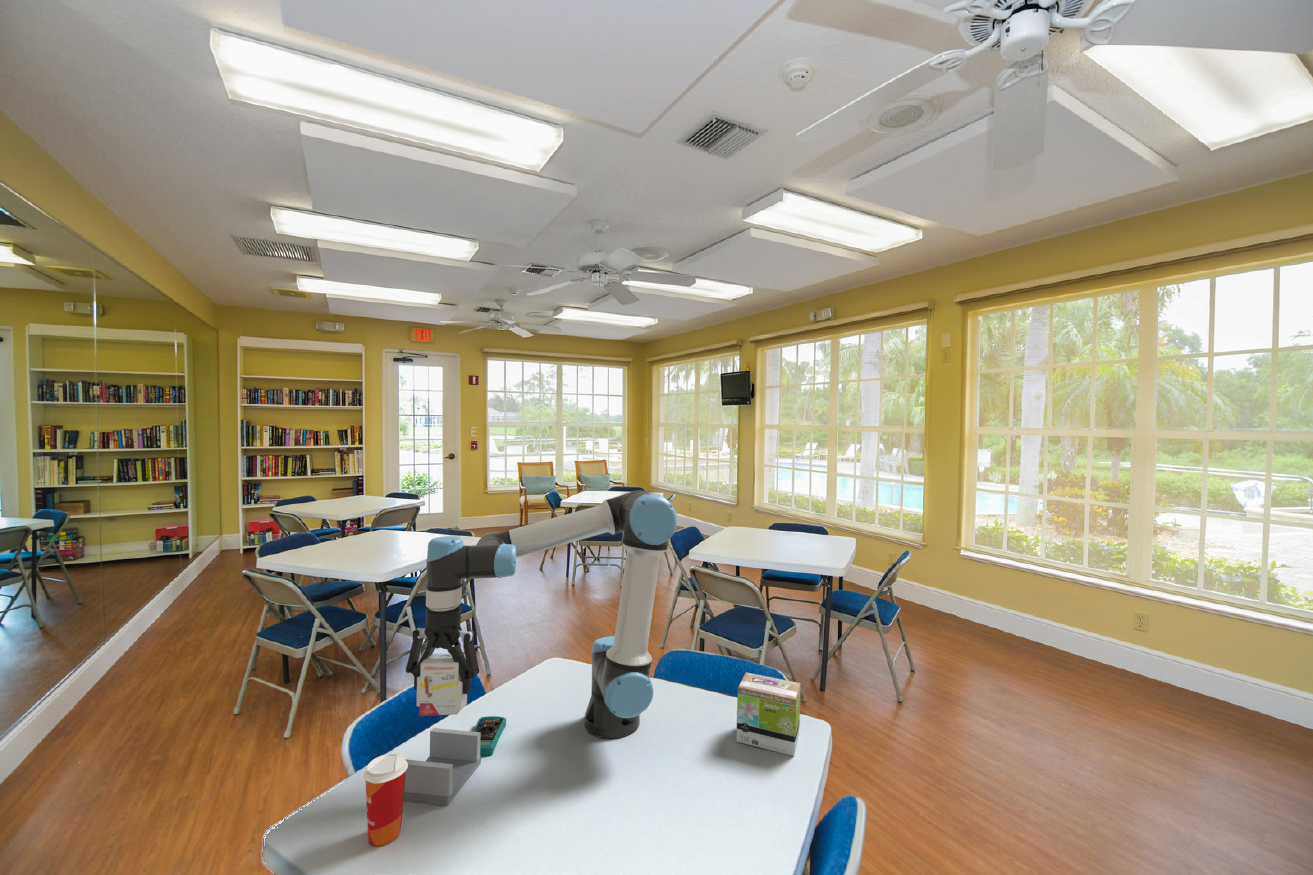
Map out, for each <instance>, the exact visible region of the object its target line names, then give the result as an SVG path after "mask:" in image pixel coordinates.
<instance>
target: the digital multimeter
mask: <svg viewBox="0 0 1313 875" xmlns="http://www.w3.org/2000/svg"><path fill="white" fill-rule="evenodd" d="M506 727H507V718H506V717H504V716H497V715H496V716H495V715H492V716H491V715H490V716H481V717H480V718H478V720H477V722H476V724H475V727H474V729H473V730H472V732H480V733H481V734H480V757H490V756H492V755H494V752H495V749H496V746H497V744H498V742H499V740H500V737H501V736H502V733H503V731H504V730H505V728H506Z"/></svg>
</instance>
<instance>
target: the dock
mask: <svg viewBox="0 0 1313 875" xmlns="http://www.w3.org/2000/svg"><path fill="white" fill-rule="evenodd" d="M480 734H481V733H480V732H473V731H468V730H458V729H449V728H439V727H433V728H432V729H431V730H429V756H428V758H427V759H426V760H425V761H424V760H416V759H415V760H414V759H406V758H405V759H406V761H407V763H408V768H407V770H406V775H405V787H404V799H403V802H405V801H406V802H410V803H411V802H413V803H419V804H420V803H421V804H428V805H434V806H435V805H436V806H444V807H445V806H446V807H448V806H449V804H450V803H451V802H452V801H453V800H454V798H455V797H456V795H458V793H460V790H461V789H462V788H463V786H464V785H466V783H467V781H469V779H470V778H471V776H472V775H473V774H474V772H475V771H476V770H477V768H478V767H479V766H481V762H482V756H480Z"/></svg>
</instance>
